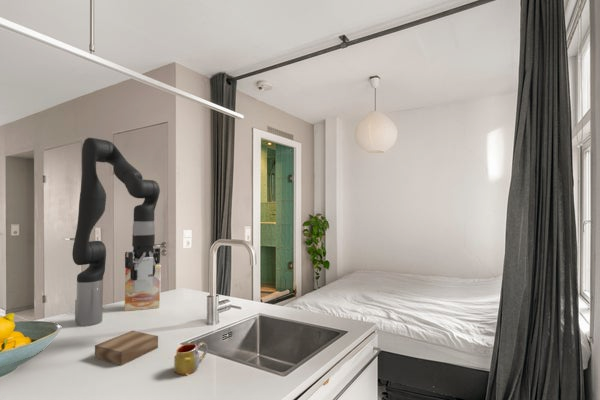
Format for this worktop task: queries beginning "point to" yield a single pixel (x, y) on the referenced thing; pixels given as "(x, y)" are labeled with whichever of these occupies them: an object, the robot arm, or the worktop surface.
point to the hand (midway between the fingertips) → (142, 278)
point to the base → (126, 347)
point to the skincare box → (144, 275)
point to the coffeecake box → (142, 293)
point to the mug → (188, 358)
